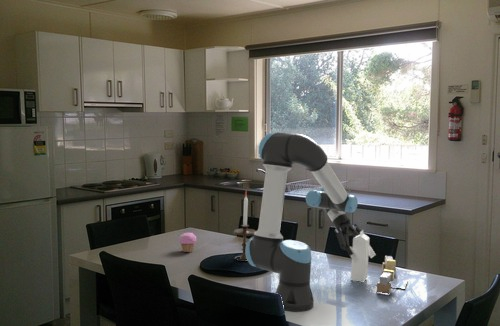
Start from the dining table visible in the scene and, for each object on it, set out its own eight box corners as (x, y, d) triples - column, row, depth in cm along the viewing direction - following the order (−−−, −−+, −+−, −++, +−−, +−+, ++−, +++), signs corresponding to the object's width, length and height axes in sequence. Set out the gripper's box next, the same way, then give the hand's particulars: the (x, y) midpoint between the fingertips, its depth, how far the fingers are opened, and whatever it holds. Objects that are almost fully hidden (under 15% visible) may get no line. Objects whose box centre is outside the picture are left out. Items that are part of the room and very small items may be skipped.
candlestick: (252, 263, 235) (255, 191, 232) (230, 261, 238) (232, 190, 234) (256, 257, 246) (259, 188, 243) (235, 255, 248) (237, 187, 245)
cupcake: (197, 250, 256) (198, 231, 255) (194, 254, 247) (194, 235, 247) (181, 249, 257) (181, 230, 256) (176, 253, 248) (177, 234, 247)
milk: (350, 280, 215) (352, 231, 213) (354, 276, 221) (356, 228, 219) (364, 283, 213) (366, 233, 211) (367, 279, 218) (370, 230, 216)
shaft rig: (403, 298, 195) (404, 279, 195) (372, 293, 200) (373, 274, 199) (409, 274, 227) (410, 257, 226) (382, 270, 231) (383, 254, 231)
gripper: (350, 219, 234) (375, 258, 224) (317, 225, 218) (343, 267, 208) (360, 210, 230) (386, 249, 219) (327, 215, 214) (353, 258, 204)
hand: (365, 258), depth 214 cm, fingers open, 11 cm apart
